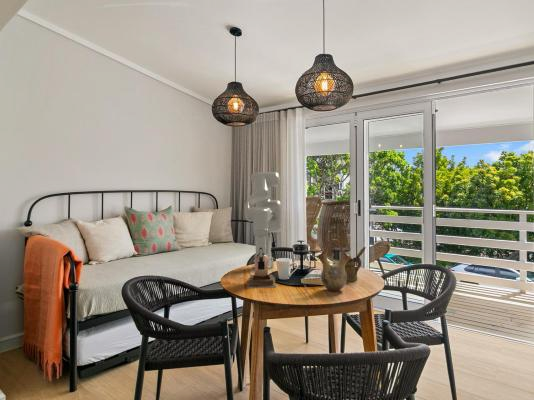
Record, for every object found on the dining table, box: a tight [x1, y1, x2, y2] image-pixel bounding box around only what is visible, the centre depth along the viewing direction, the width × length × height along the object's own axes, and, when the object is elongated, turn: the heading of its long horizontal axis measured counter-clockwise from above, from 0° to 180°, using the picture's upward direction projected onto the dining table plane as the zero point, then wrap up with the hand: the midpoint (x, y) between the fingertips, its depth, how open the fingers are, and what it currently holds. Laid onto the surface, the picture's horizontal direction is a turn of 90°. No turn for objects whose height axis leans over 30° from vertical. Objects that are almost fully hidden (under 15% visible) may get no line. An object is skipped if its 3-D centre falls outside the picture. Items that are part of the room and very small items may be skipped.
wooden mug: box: [345, 246, 366, 283], centre depth 178 cm, size 9×14×18 cm, turn 81°
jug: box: [254, 254, 274, 276], centre depth 170 cm, size 10×7×10 cm
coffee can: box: [332, 246, 351, 264], centre depth 195 cm, size 10×10×14 cm
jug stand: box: [246, 274, 277, 289], centre depth 170 cm, size 20×14×4 cm
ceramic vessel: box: [316, 238, 352, 292], centre depth 160 cm, size 16×9×25 cm, turn 82°
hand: (261, 267), depth 170 cm, fingers closed on jug, 6 cm apart
